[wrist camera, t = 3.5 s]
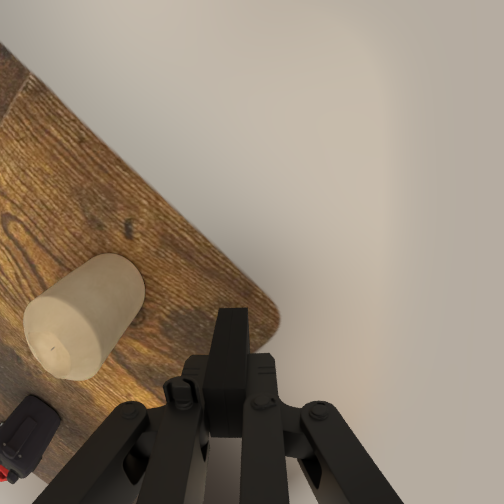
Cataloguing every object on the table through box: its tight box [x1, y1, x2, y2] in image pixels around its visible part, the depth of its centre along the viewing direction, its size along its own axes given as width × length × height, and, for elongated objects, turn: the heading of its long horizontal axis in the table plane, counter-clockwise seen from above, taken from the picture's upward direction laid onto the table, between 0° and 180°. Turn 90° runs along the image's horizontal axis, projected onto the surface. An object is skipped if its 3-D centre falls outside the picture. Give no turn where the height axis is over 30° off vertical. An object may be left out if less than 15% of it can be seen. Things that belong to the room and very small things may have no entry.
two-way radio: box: [0, 395, 60, 484], centre depth 21 cm, size 6×4×15 cm
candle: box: [23, 253, 145, 381], centre depth 19 cm, size 6×6×10 cm
